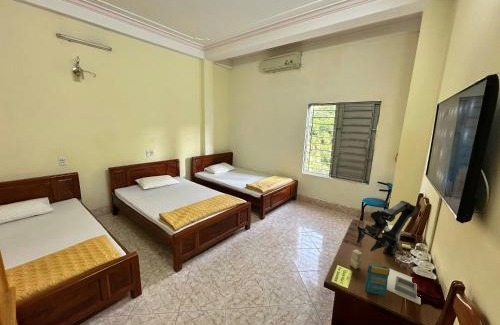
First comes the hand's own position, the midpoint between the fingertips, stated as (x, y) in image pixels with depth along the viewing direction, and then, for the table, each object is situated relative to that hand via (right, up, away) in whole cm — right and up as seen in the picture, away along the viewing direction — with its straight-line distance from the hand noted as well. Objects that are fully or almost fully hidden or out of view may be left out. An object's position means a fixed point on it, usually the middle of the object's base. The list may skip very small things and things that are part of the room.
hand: (363, 246), depth 130 cm
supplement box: (+35, -8, +27) cm, 45 cm away
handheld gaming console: (-5, -17, -19) cm, 26 cm away
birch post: (-5, -12, 0) cm, 13 cm away
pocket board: (+14, -16, -14) cm, 25 cm away
